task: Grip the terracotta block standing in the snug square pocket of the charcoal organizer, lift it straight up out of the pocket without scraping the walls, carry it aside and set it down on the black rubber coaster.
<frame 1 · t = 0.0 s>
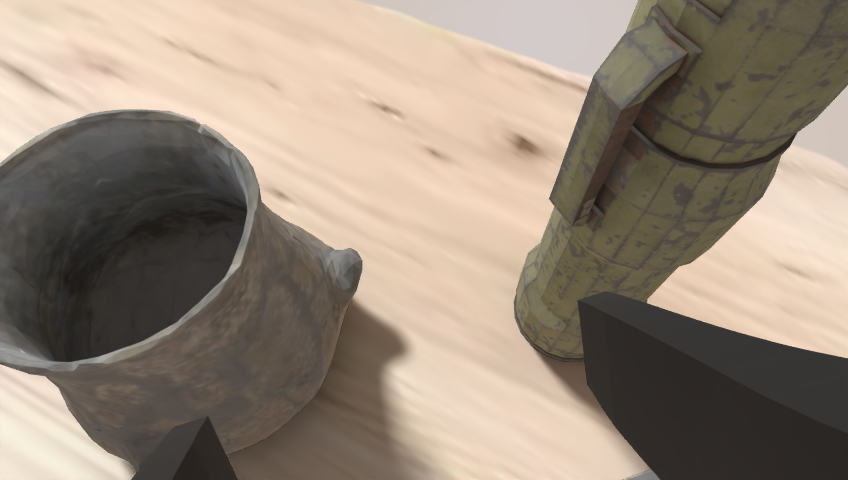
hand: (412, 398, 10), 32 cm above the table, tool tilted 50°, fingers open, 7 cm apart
thermos: (564, 311, 45), on the table
vessel: (243, 338, 44), on the table
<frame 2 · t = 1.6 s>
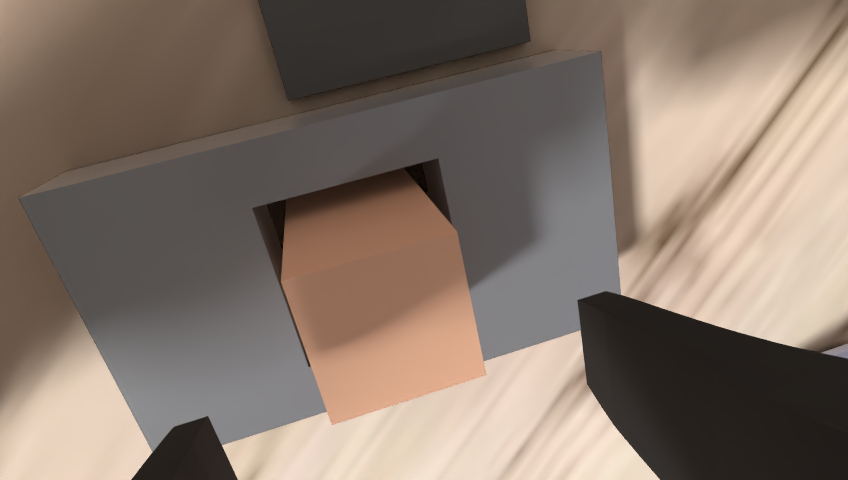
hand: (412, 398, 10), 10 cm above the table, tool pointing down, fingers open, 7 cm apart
organizer: (359, 234, 19), on the table
terracotta block: (359, 234, 19), resting in organizer
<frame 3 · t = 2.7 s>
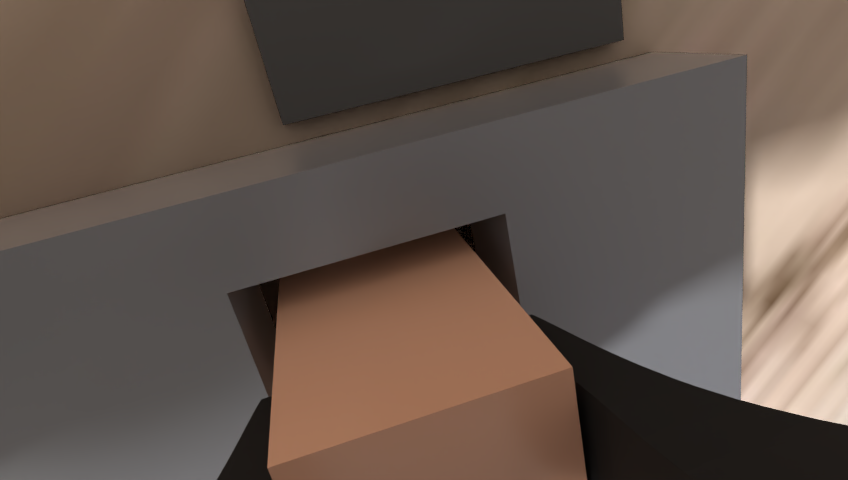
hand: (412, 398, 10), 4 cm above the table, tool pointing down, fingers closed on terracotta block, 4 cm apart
organizer: (381, 304, 14), on the table
terracotta block: (381, 303, 14), resting in organizer, touching gripper
when the fingers open (5 cm above the table, at t = 6.4 s): terracotta block stays where it is, resting on coaster.
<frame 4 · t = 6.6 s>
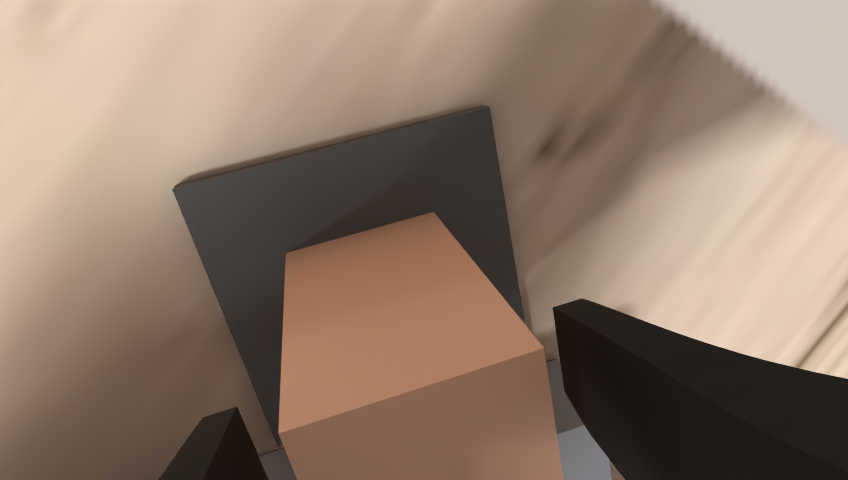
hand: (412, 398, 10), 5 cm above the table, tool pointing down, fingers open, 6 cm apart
terracotta block: (379, 297, 15), resting on coaster
coaster: (374, 281, 15), on the table
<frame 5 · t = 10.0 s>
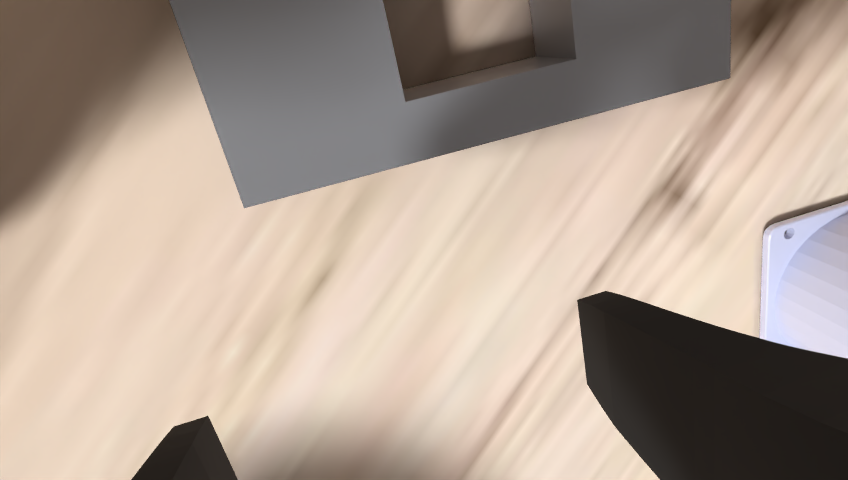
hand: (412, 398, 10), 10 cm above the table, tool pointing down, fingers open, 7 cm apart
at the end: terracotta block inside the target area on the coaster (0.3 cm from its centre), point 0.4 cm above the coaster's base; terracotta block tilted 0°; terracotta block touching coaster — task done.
